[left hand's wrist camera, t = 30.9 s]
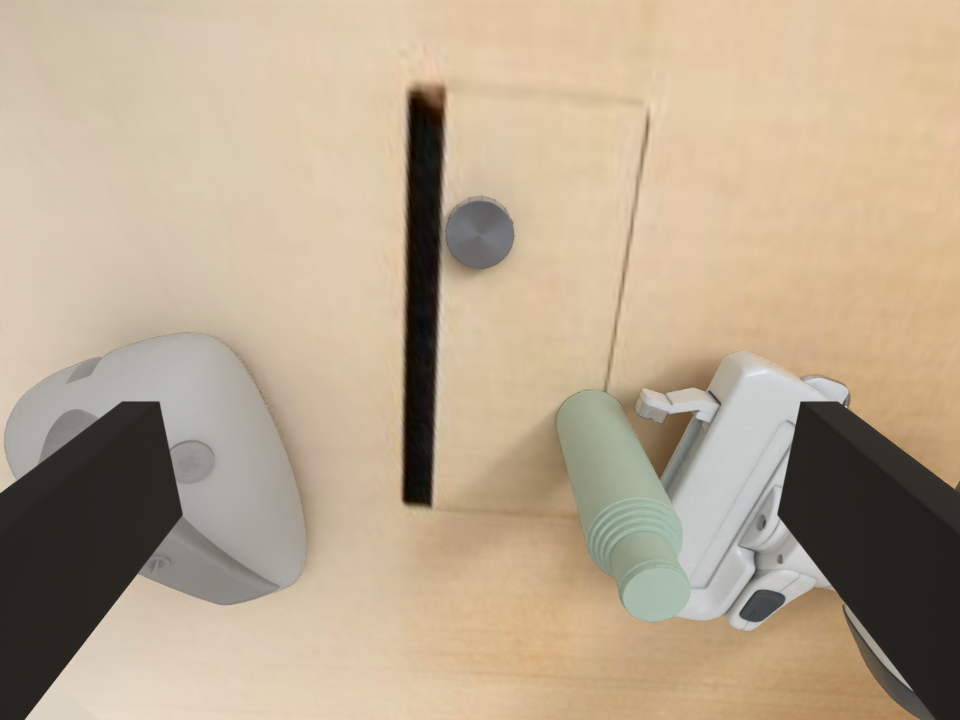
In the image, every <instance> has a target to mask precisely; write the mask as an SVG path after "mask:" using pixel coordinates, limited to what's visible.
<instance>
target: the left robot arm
mask: <svg viewBox="0 0 960 720" xmlns="http://www.w3.org/2000/svg"><path fill="white" fill-rule="evenodd" d="M182 516H183V512H182V507H181V503H180V498H179V493H178V488H177V483H176V478H175V474H174V469H173V464H172V459H171V454H170V449H169V445H168V440H167V435H166V430H165V425H164V421H163V416H162V411H161V406H160V401H122V402H120V403H119V404H118V405H117V406H115V407H114V408H113V409H111V410H110V411H109V412H107V413H106V414H105V415H103V416H102V417H101V418H99V419H98V420H97V421H95V422H94V423H93V424H91V425H90V426H89V427H87V428H86V429H85V430H83V431H82V432H81V433H79V434H78V435H77V436H75V437H74V438H73V439H72V440H70V441H69V442H68V443H66V444H65V445H64V446H62V447H61V448H60V449H58V450H57V451H56V452H54V453H53V454H52V455H50V456H49V457H48V458H46V459H45V460H44V461H42V462H41V463H40V464H38V465H37V466H36V467H34V468H33V469H32V470H30V471H29V472H28V473H27V474H25V475H24V476H23V477H21V478H20V479H19V480H17V481H16V482H15V483H13V484H12V485H11V486H9V487H8V488H7V489H5V490H4V491H3V492H1V493H0V720H25V719H26V717H27V716H28V715H29V713H30V712H31V711H32V710H33V708H34V707H35V706H36V704H37V703H38V702H39V700H40V699H41V698H42V697H43V695H44V694H45V693H46V691H47V690H48V689H49V688H50V686H51V685H52V684H53V682H54V681H55V680H56V679H57V677H58V676H59V675H60V673H61V672H62V671H63V669H64V668H65V667H66V666H67V664H68V663H69V662H70V660H71V659H72V658H73V657H74V655H75V654H76V653H77V651H78V650H79V649H80V647H81V646H82V645H83V644H84V642H85V641H86V640H87V638H88V637H89V636H90V635H91V633H92V632H93V631H94V629H95V628H96V627H97V625H98V624H99V623H100V622H101V620H102V619H103V618H104V616H105V615H106V614H107V613H108V611H109V610H110V609H111V607H112V606H113V605H114V604H115V602H116V601H117V600H118V598H119V597H120V596H121V594H122V593H123V592H124V591H125V589H126V588H127V587H128V585H129V584H130V583H131V582H132V580H133V579H134V578H135V576H136V575H137V574H138V572H139V571H140V570H141V569H142V567H143V566H144V565H145V563H146V562H147V561H148V560H149V558H150V557H151V556H152V554H153V553H154V552H155V550H156V549H157V548H158V547H159V545H160V544H161V543H162V541H163V540H164V539H165V538H166V536H167V535H168V534H169V532H170V531H171V530H172V528H173V527H174V526H175V525H176V523H177V522H178V521H179V519H180V518H181V517H182ZM777 516H778V517H779V518H780V519H781V521H782V522H783V523H784V525H785V526H786V527H787V528H788V530H789V531H790V532H791V534H792V535H793V536H794V538H795V539H796V540H797V541H798V543H799V544H800V545H801V547H802V548H803V549H804V550H805V552H806V553H807V554H808V556H809V557H810V558H811V560H812V561H813V562H814V563H815V565H816V566H817V567H818V569H819V570H820V571H821V572H822V574H823V575H824V576H825V578H826V579H827V580H828V582H829V583H830V584H831V585H832V587H833V588H834V589H835V591H836V592H837V593H838V594H839V596H840V597H841V598H842V600H843V601H844V602H845V604H846V605H847V606H848V607H849V609H850V610H851V611H852V613H853V614H854V615H855V616H856V618H857V619H858V620H859V622H860V623H861V624H862V625H863V627H864V628H865V629H866V631H867V632H868V633H869V635H870V636H871V637H872V638H873V640H874V641H875V642H876V644H877V645H878V646H879V647H880V649H881V650H882V651H883V653H884V654H885V655H886V657H887V658H888V659H889V660H890V662H891V663H892V664H893V666H894V667H895V668H896V669H897V671H898V672H899V673H900V675H901V676H902V677H903V679H904V680H905V681H906V682H907V684H908V685H909V686H910V688H911V689H912V690H913V691H914V693H915V694H916V695H917V697H918V698H919V699H920V701H921V702H922V703H923V704H924V706H925V707H926V708H927V710H928V711H929V712H930V713H931V715H932V716H933V717H934V719H935V720H960V493H959V492H957V491H956V490H955V489H953V488H952V487H951V486H949V485H948V484H947V483H945V482H944V481H943V480H941V479H940V478H939V477H937V476H936V475H935V474H933V473H932V472H931V471H930V470H928V469H927V468H926V467H924V466H923V465H922V464H920V463H919V462H918V461H916V460H915V459H914V458H912V457H911V456H910V455H908V454H907V453H906V452H904V451H903V450H902V449H900V448H899V447H898V446H896V445H895V444H894V443H892V442H891V441H890V440H888V439H887V438H886V437H885V436H883V435H882V434H881V433H879V432H878V431H877V430H875V429H874V428H873V427H871V426H870V425H869V424H867V423H866V422H865V421H863V420H862V419H861V418H859V417H858V416H857V415H855V414H854V413H853V412H851V411H850V410H849V409H847V408H846V407H845V406H843V405H842V404H841V403H840V402H838V401H800V406H799V411H798V416H797V421H796V425H795V430H794V435H793V440H792V445H791V449H790V454H789V459H788V464H787V469H786V474H785V478H784V483H783V488H782V493H781V498H780V503H779V507H778V512H777Z"/></svg>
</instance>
